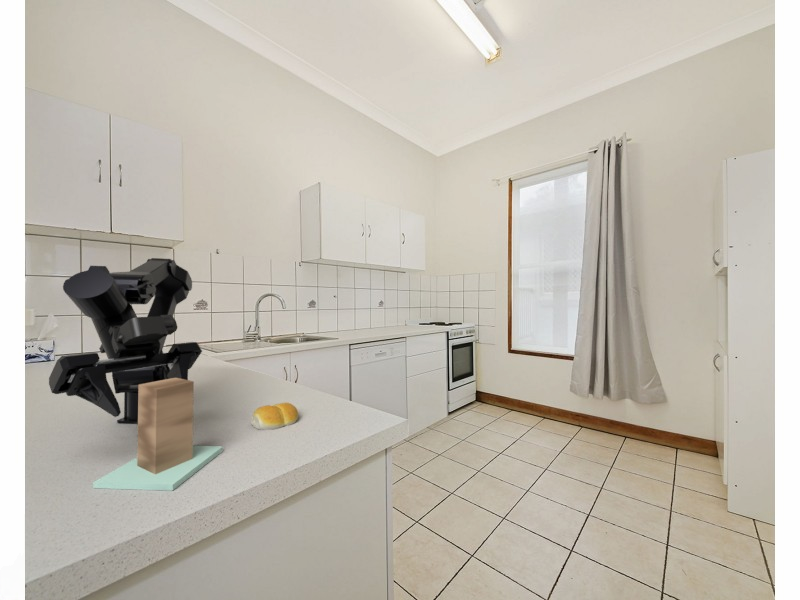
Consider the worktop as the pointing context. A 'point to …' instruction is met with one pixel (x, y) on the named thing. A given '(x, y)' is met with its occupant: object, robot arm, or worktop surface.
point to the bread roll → (274, 416)
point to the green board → (166, 480)
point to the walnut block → (165, 424)
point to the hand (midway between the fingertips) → (154, 405)
